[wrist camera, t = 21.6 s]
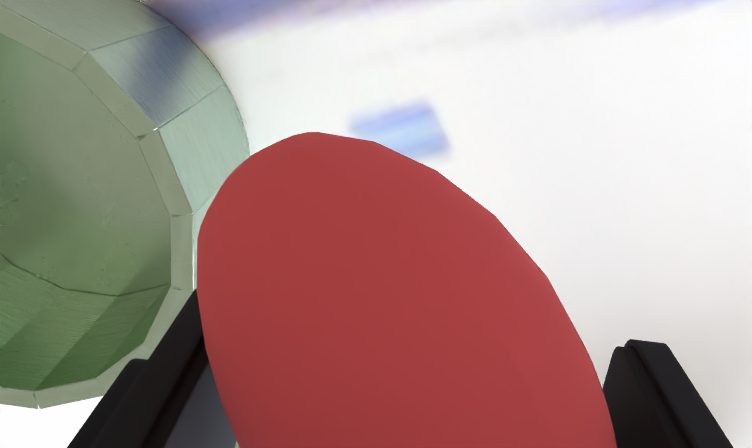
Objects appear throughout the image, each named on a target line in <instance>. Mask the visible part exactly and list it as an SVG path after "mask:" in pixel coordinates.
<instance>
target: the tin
mask: <svg viewBox="0 0 752 448" xmlns="http://www.w3.org/2000/svg"><path fill="white" fill-rule="evenodd" d="M249 157H250V152H249V146H248V140H247V136H246V132H245V129H244V126H243V122H242V119H241V115H240V113H239V111H238V109H237V106H236V104H235V102H234V100H233V97H232V95H231V93H230V91H229V90H228V88H227V86H226V85H225V83H224V81H223V79H222V78H221V76H220V74H219V73H218V71H217V70H216V69H215V67H214V66H213V65H212V64H211V62H210V61H209V60H208V58H207V57H206V56H205V54H204V53H203V52H202V51H201V50H200V49H199V48H198V47H197V46H196V45H195V44H194V43H193V42H192V41H191V40H190V39H189V38H188V37H187V35H185V34H184V33H183V32H182V31H181V30H179V29H178V28H177V27H176V26H174V25H173V24H172V23H171V22H170V21H168V20H167V19H166V18H164V17H163V16H161V15H160V14H158V13H156V12H155V11H153V10H152V9H150V8H149V7H147V6H145V5H144V4H141V3H139V2H137V1H135V0H0V404H6V405H13V406H21V407H28V408H35V409H39V408H41V409H42V408H47V407H51V406H56V405H61V404H66V403H70V402H75V401H80V400H85V399H89V398H94V397H99V396H104V395H105V394H106V392H107V391H108V389H109V388H110V387H111V385H112V384H113V382H114V381H115V379H116V378H117V377H118V375H119V374H120V372H121V371H122V370H123V368H124V367H125V365H126V364H127V363H128V362H129V361H130V360H131V359H134V358H138V359H147V360H148V359H149V357H150V356H151V354H152V353H153V351H154V350H155V348H156V347H157V345H158V344H159V342H160V341H161V339H162V338H163V336H164V335H165V333H166V332H167V330H168V329H169V327H170V326H171V324H172V323H173V321H174V320H175V318H176V317H177V315H178V314H179V312H180V311H181V309H182V308H183V306H184V305H185V303H186V301H187V300H188V298H189V297H190V295H191V294H192V292H193V291H194V290H195V289H196V288H197V239H198V234H199V230H200V226H201V224H202V221H203V219H204V217H205V214H206V212H207V210H208V208H209V207H210V205H211V203H212V201H213V200H214V198H215V196H216V194H217V193H218V191H219V189H220V187H221V186H222V184H223V183H224V182H225V180H226V179H227V177H228V176H229V175H230V174H231V173H232V172H233V171H234V170H235V169H236V168H237V167H238V166H239V165H240V164H241V163H242V162H243V161H245V160H246V159H248V158H249Z"/></svg>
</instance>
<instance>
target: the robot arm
mask: <svg viewBox="0 0 752 448" xmlns="http://www.w3.org/2000/svg"><path fill="white" fill-rule="evenodd" d="M602 390H603V393H604V396H605V400H606V403H607V406H608V410H609V413H610V417H611V421H612V425H613V429H614V434H615V439H616V444H617V448H733V446H732V445H731V443H730V442H729V440H728V439H727V437H726V435H725V434H724V432H723V431H722V429H721V428H720V426H719V425H718V423H717V421H716V420H715V418H714V417H713V415H712V414H711V412H710V411H709V409H708V407H707V406H706V404H705V403H704V401H703V400H702V398H701V397H700V395H699V393H698V392H697V390H696V389H695V387H694V386H693V384H692V383H691V381H690V379H689V378H688V376H687V375H686V373H685V372H684V370H683V369H682V367H681V365H680V364H679V362H678V361H677V359H676V358H675V356H674V355H673V353H672V352H671V350H670V348H669V347H668V346H667V345H666V344H664V343H658V342H649V341H641V340H633V339H630V340H629V341H627V343H626V344H625V346H624V347H620V346H618V347H616V348H615V350H614V352H613V354H612V358H611V361H610V365H609V368H608V371H607V375H606V378H605V382H604V385H603V389H602ZM236 441H237V440H236V438H235V435H234V433H233V431H232V428H231V426H230V423H229V421H228V418H227V416H226V413H225V411H224V408H223V406H222V403H221V399H220V396H219V393H218V389H217V386H216V383H215V379H214V376H213V372H212V369H211V366H210V362H209V359H208V355H207V352H206V348H205V341H204V335H203V329H202V322H201V316H200V309H199V303H198V297H197V288H196V289H195V290H194V291H193V292H192V294H191V295H190V297H189V298H188V300H187V301H186V303H185V305H184V306H183V308H182V309H181V311H180V312H179V314H178V315H177V317H176V318H175V320H174V321H173V323H172V324H171V326H170V327H169V329H168V330H167V332H166V333H165V335H164V336H163V338H162V339H161V341H160V342H159V344H158V345H157V347H156V348H155V350H154V351H153V353H152V354H151V356H150V357H149V359H148V360H147V359H138V358H134V359H131V360H130V361H129V362H128V363H127V364H126V365H125V367H124V368H123V370H122V371H121V372H120V374H119V375H118V377H117V378H116V379H115V381H114V382H113V384H112V385H111V387H110V388H109V389H108V391H107V392H106V394H105V395H104V396H103V398H102V399H101V401H100V402H99V403H98V405H97V406H96V408H95V409H94V410H93V412H92V413H91V415H90V416H89V418H88V419H87V420H86V422H85V423H84V425H83V426H82V427H81V429H80V430H79V432H78V433H77V434H76V436H75V437H74V439H73V440H72V441H71V443H70V444H69V446H68V447H67V448H235V445H236Z"/></svg>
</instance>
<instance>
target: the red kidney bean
mask: <svg viewBox="0 0 752 448" xmlns="http://www.w3.org/2000/svg"><path fill="white" fill-rule="evenodd" d="M197 297H198V303H199V309H200V316H201V322H202V329H203V335H204V341H205V348H206V352H207V355H208V359H209V362H210V366H211V369H212V372H213V376H214V379H215V383H216V386H217V389H218V393H219V396H220V399H221V403H222V406H223V408H224V411H225V413H226V416H227V418H228V421H229V423H230V426H231V428H232V431H233V433H234V435H235V438H236V440H237V443H238V445H239V448H617V444H616V439H615V434H614V429H613V425H612V421H611V417H610V413H609V410H608V406H607V403H606V400H605V396H604V393H603V390H602V387H601V384H600V382H599V379H598V376H597V373H596V371H595V368H594V365H593V363H592V361H591V358H590V356H589V354H588V352H587V350H586V348H585V346H584V344H583V342H582V340H581V338H580V336H579V335H578V333H577V331H576V329H575V327H574V325H573V324H572V322H571V320H570V318H569V316H568V314H567V313H566V311H565V309H564V307H563V305H562V303H561V301H560V300H559V298H558V296H557V294H556V292H555V290H554V289H553V287H552V285H551V283H550V281H549V279H548V278H547V276H546V275H545V274H544V273H543V271H542V270H541V269H540V268H539V267H538V266H537V264H536V263H535V262H534V261H533V260H532V259H531V257H530V256H529V255H528V254H527V253H526V252H525V250H524V249H523V248H522V247H521V246H520V245H519V243H518V242H517V241H516V240H515V239H514V238H513V236H512V235H511V234H510V233H509V232H508V230H507V229H506V228H505V227H504V226H503V225H502V223H501V222H500V221H499V220H498V219H497V218H496V216H495V215H493V214H492V213H491V212H489V211H488V210H487V209H485V208H484V207H483V206H482V205H480V204H479V203H478V202H476V201H475V200H474V199H473V198H471V197H470V196H469V195H467V194H466V193H465V192H463V191H462V190H461V189H460V188H458V187H457V186H456V185H454V184H453V183H452V182H450V181H449V180H448V179H447V178H445V177H444V176H443V175H441V174H440V173H439V172H438V171H436V170H434V169H431V168H429V167H427V166H425V165H423V164H421V163H419V162H417V161H415V160H412V159H410V158H408V157H406V156H404V155H402V154H400V153H398V152H395V151H393V150H391V149H389V148H387V147H385V146H383V145H381V144H379V143H376V142H373V141H367V140H361V139H355V138H350V137H344V136H338V135H332V134H326V133H320V132H307V133H302V134H298V135H294V136H291V137H288V138H286V139H283V140H281V141H279V142H277V143H275V144H273V145H270V146H268V147H266V148H264V149H262V150H260V151H259V152H257V153H255V154H253V155H252V156H250V157H249V158H248V159H246V160H245V161H243V162H242V163H241V164H240V165H239V166H238V167H237V168H236V169H235V170H234V171H233V172H232V173H231V174H230V175H229V176H228V177H227V179H226V180H225V182H224V183H223V184H222V186H221V187H220V189H219V191H218V193H217V194H216V196H215V198H214V200H213V201H212V203H211V205H210V207H209V208H208V210H207V212H206V214H205V217H204V219H203V221H202V224H201V226H200V230H199V234H198V239H197Z"/></svg>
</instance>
